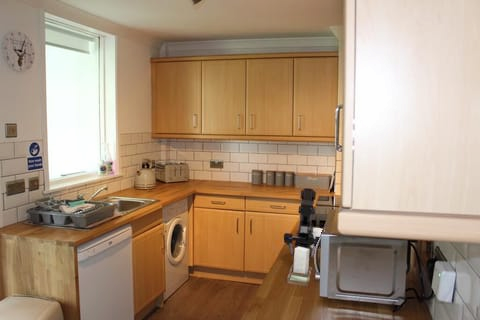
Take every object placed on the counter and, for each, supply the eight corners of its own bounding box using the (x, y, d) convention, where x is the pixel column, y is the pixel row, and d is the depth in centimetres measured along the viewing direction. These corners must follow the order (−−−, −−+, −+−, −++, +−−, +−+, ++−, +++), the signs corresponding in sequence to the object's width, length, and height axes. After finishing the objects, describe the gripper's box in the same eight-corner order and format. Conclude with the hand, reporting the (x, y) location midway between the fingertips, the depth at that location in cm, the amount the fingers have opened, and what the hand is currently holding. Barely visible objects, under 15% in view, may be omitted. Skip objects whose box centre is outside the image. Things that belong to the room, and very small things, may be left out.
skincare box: (308, 273, 201) (310, 248, 199) (304, 276, 197) (306, 251, 196) (296, 269, 204) (298, 245, 202) (292, 272, 201) (294, 248, 199)
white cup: (323, 250, 232) (324, 232, 231) (308, 248, 234) (309, 231, 232) (323, 245, 240) (324, 228, 239) (308, 243, 241) (310, 226, 240)
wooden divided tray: (291, 267, 206) (292, 264, 206) (311, 270, 204) (311, 267, 204) (286, 283, 189) (286, 279, 189) (308, 286, 187) (308, 283, 186)
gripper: (285, 216, 204) (281, 246, 195) (324, 220, 200) (322, 251, 191) (286, 227, 213) (282, 256, 204) (324, 232, 209) (321, 261, 200)
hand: (301, 256), depth 199 cm, fingers open, 9 cm apart
